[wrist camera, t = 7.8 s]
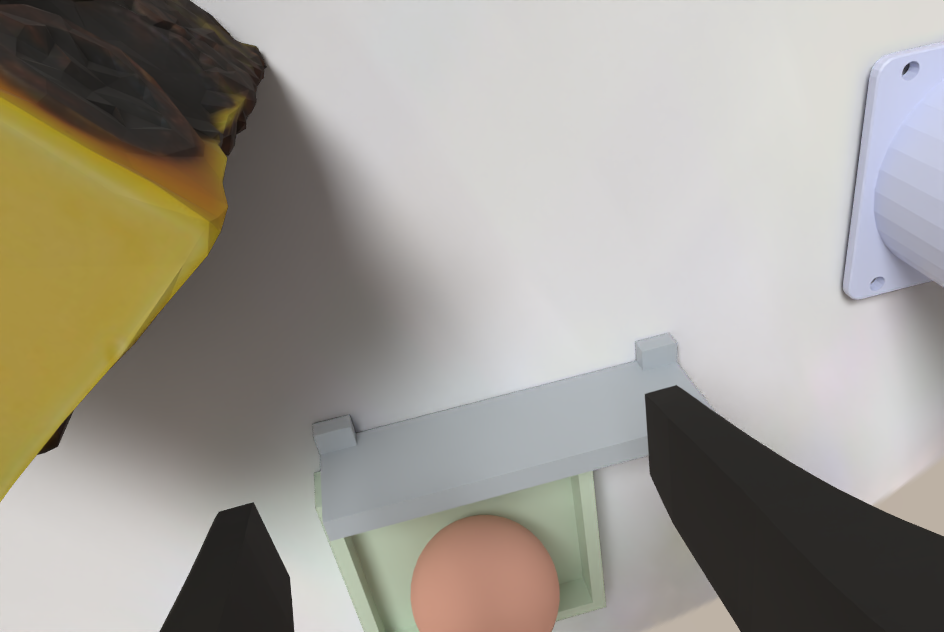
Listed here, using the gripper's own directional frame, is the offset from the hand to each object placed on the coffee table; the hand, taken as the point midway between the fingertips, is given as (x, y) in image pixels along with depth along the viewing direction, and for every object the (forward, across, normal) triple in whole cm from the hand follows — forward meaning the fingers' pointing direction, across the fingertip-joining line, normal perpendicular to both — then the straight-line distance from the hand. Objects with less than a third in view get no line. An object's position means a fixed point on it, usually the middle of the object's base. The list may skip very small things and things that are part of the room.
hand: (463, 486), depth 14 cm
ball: (+6, 0, +12) cm, 13 cm away
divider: (+9, -2, +6) cm, 11 cm away
